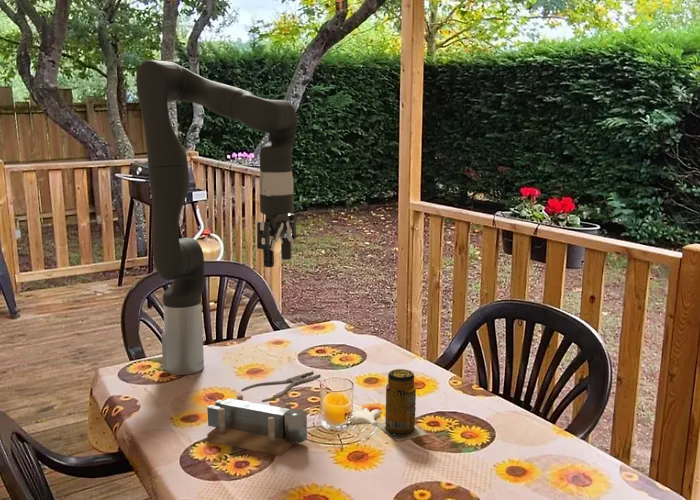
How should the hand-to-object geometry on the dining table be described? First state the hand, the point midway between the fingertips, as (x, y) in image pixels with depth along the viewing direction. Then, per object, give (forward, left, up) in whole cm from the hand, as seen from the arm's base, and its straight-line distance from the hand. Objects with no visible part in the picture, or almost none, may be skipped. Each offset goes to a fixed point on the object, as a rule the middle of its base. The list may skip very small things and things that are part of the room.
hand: (277, 263), depth 154 cm
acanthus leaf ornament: (+24, -8, -31) cm, 40 cm away
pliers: (-1, +2, -31) cm, 31 cm away
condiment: (+33, -10, -30) cm, 46 cm away
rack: (+7, -24, -30) cm, 39 cm away
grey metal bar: (+7, -24, -29) cm, 38 cm away
